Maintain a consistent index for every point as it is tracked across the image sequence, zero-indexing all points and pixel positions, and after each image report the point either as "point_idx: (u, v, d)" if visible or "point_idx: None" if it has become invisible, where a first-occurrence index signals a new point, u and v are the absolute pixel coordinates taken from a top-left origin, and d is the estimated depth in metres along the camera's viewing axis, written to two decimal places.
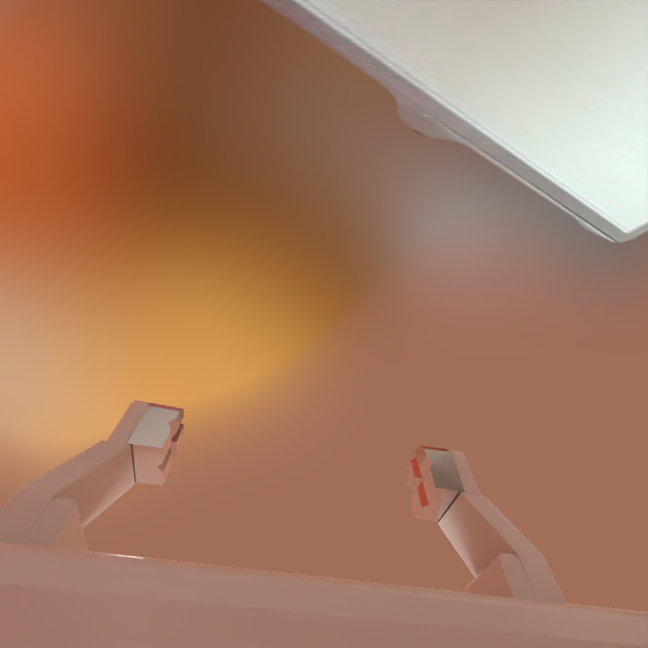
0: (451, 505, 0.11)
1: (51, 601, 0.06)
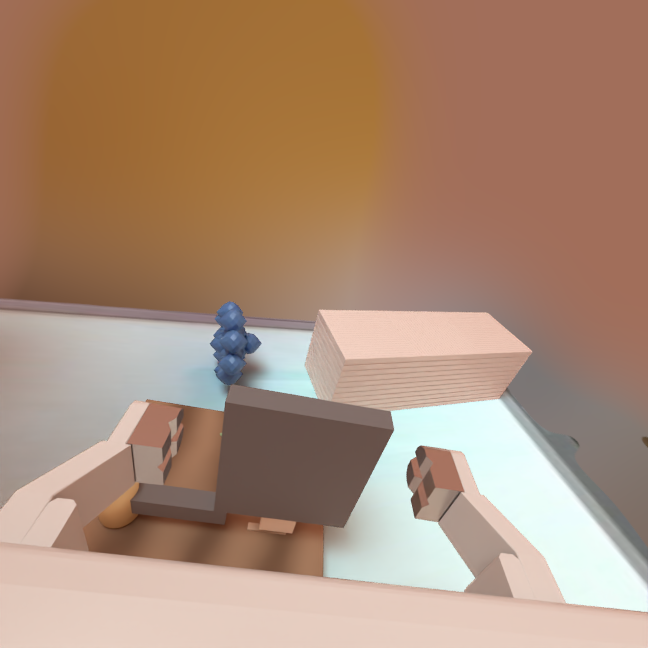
0: (451, 505, 0.11)
1: (51, 601, 0.06)
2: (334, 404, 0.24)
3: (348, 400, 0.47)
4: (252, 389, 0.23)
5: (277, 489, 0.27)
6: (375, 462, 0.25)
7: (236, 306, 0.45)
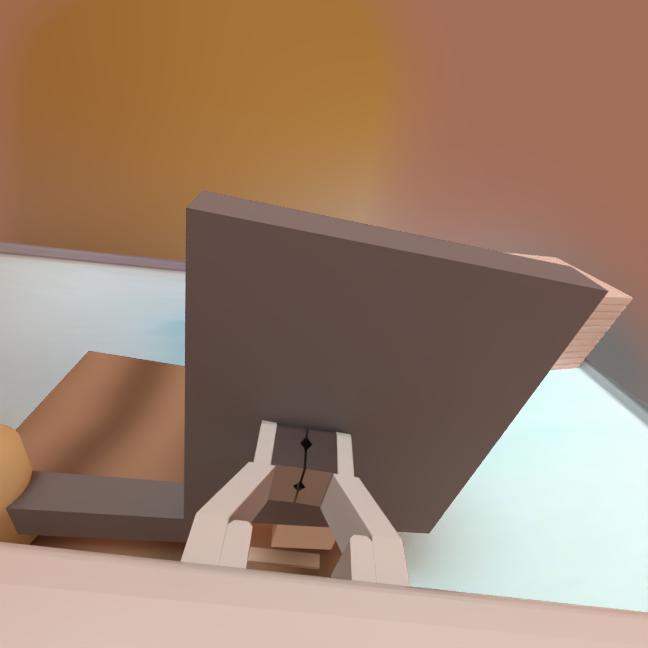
0: (327, 488, 0.11)
1: (51, 601, 0.06)
2: (455, 245, 0.10)
3: None
4: (258, 203, 0.09)
5: None
6: (533, 387, 0.11)
7: None
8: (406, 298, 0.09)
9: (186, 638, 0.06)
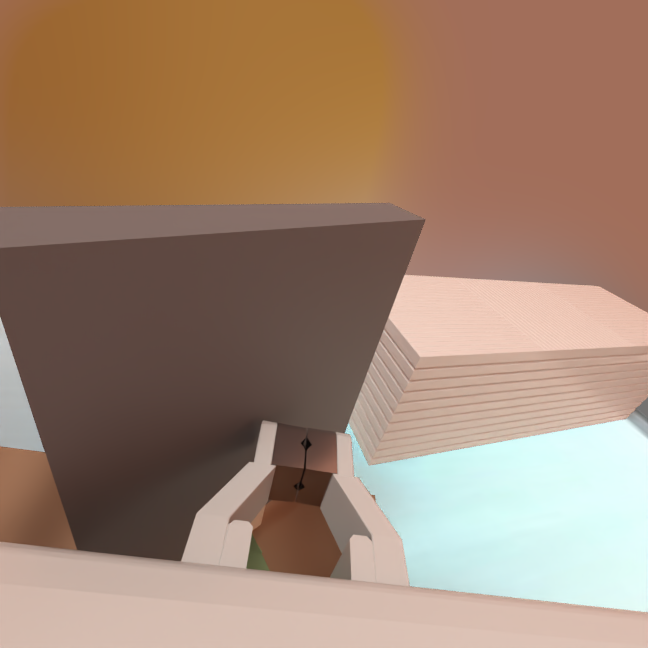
0: (327, 488, 0.11)
1: (51, 601, 0.06)
2: (310, 206, 0.10)
3: (411, 434, 0.25)
4: (76, 209, 0.06)
5: (234, 469, 0.12)
6: (389, 310, 0.14)
7: None
8: (293, 275, 0.09)
9: (186, 638, 0.06)
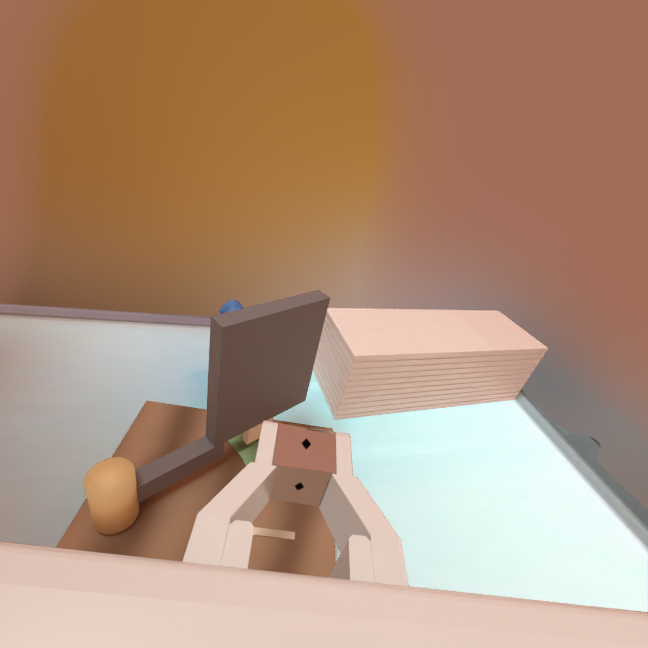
0: (326, 488, 0.11)
1: (51, 601, 0.06)
2: (287, 299, 0.30)
3: (357, 400, 0.45)
4: (229, 313, 0.27)
5: (261, 393, 0.32)
6: (321, 330, 0.34)
7: (238, 304, 0.44)
8: (282, 323, 0.29)
9: (186, 638, 0.06)
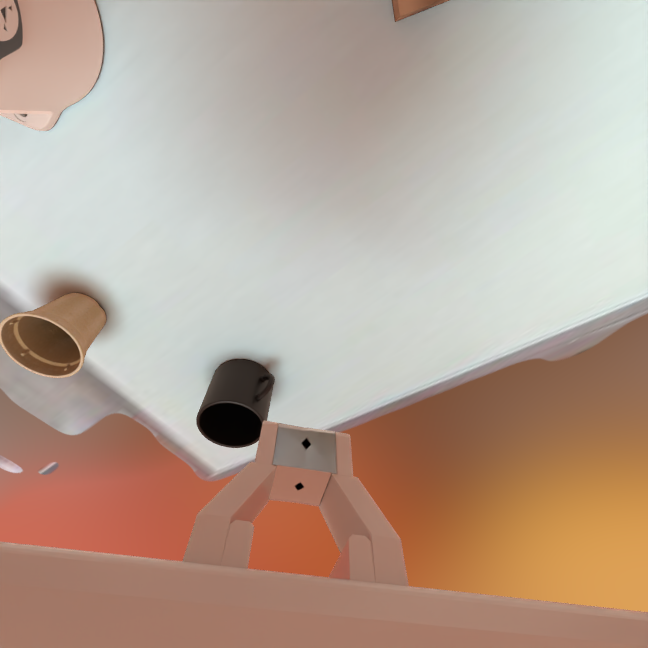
0: (326, 488, 0.11)
1: (51, 601, 0.06)
2: None
3: None
4: None
5: None
6: None
7: None
8: None
9: (186, 638, 0.06)
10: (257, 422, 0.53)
